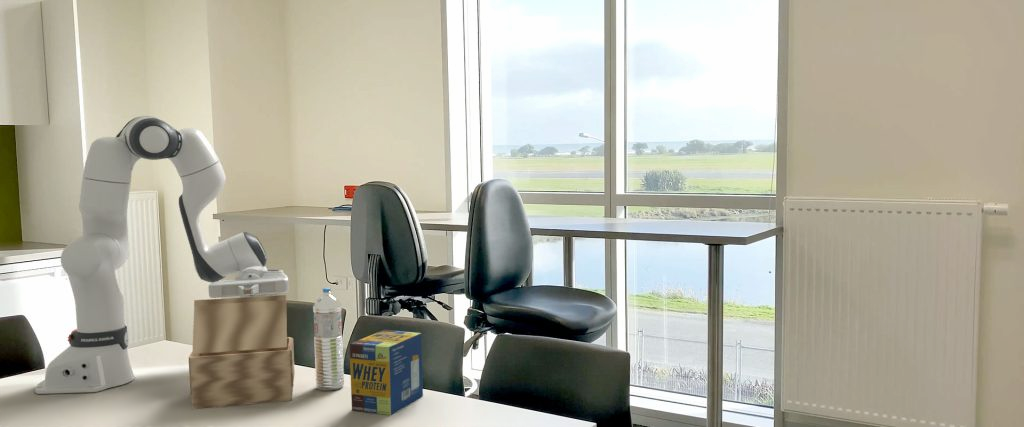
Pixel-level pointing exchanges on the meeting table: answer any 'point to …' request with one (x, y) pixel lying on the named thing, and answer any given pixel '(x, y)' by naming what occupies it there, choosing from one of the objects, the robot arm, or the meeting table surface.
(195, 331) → the carton flap
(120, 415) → the meeting table surface
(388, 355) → the protein box
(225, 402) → the carton
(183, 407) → the meeting table surface
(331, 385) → the water bottle
